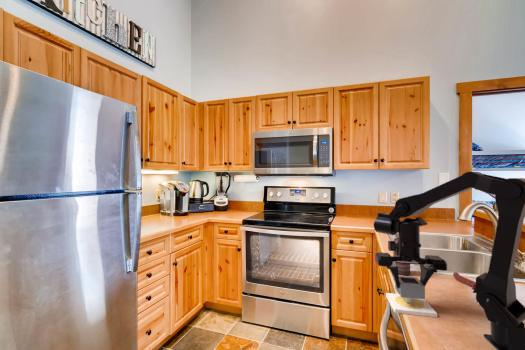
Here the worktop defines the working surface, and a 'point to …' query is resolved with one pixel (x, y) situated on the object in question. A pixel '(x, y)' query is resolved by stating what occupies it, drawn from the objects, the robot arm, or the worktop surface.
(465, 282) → the pliers
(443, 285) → the worktop surface
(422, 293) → the grey hollow square box
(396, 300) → the post base
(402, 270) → the can
